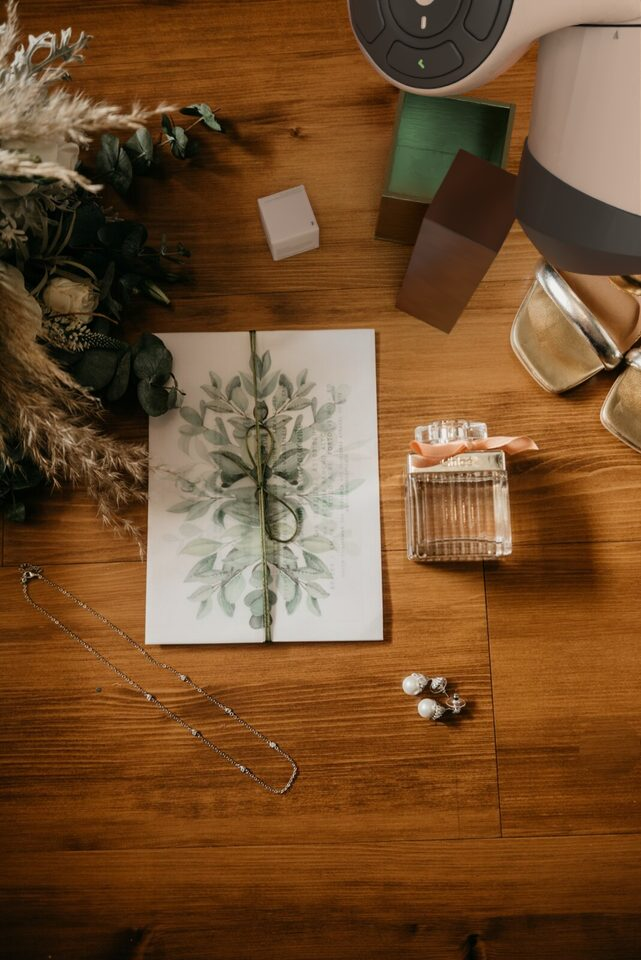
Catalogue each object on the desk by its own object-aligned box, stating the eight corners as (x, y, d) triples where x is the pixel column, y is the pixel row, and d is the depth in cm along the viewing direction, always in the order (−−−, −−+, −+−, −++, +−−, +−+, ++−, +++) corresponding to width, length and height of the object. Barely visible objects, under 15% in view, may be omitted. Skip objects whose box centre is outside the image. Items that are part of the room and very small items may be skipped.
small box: (305, 203, 85) (304, 182, 80) (320, 248, 84) (320, 229, 79) (259, 218, 84) (255, 198, 79) (274, 263, 84) (271, 245, 79)
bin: (492, 158, 85) (516, 103, 75) (476, 256, 84) (499, 215, 73) (390, 141, 85) (400, 84, 75) (374, 239, 84) (381, 195, 74)
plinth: (475, 282, 84) (534, 183, 61) (448, 334, 83) (497, 254, 60) (421, 255, 84) (460, 147, 61) (394, 307, 83) (423, 217, 61)
